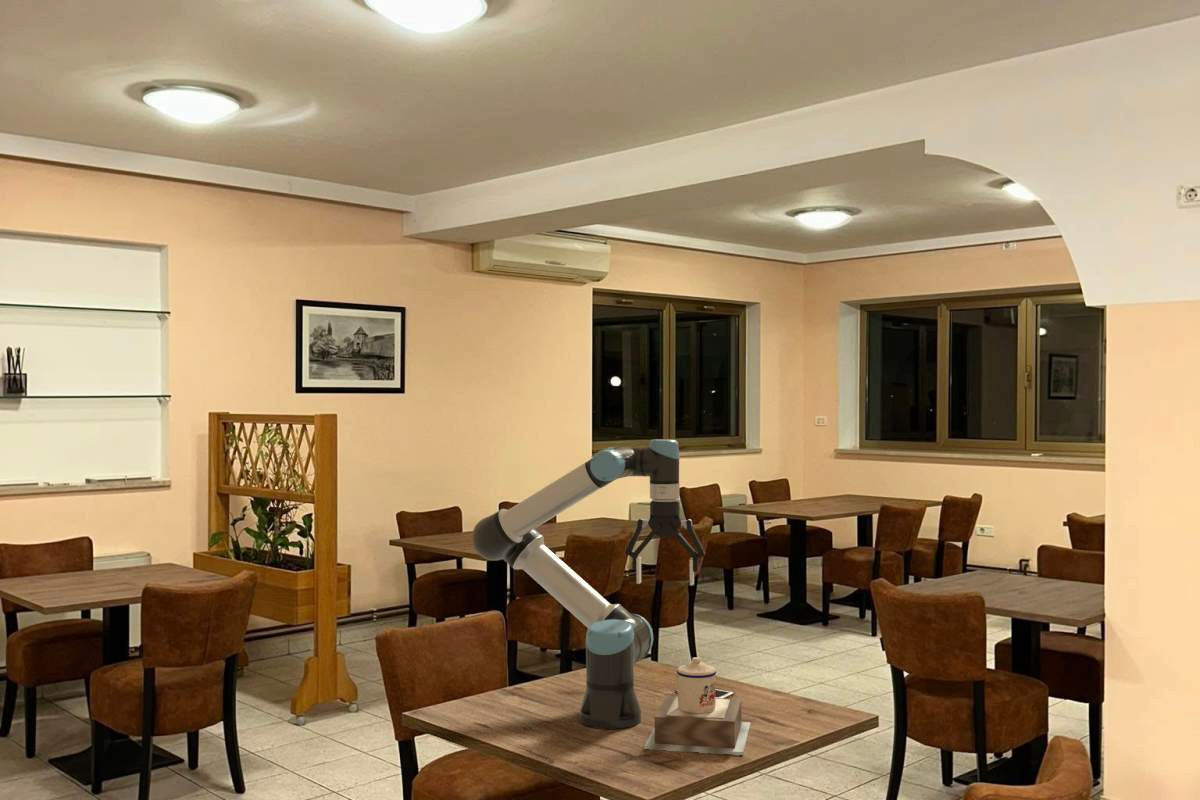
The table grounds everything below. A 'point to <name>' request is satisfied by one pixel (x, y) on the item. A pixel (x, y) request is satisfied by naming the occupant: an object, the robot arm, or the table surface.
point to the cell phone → (721, 693)
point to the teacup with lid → (696, 687)
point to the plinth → (699, 728)
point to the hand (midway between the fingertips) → (665, 583)
